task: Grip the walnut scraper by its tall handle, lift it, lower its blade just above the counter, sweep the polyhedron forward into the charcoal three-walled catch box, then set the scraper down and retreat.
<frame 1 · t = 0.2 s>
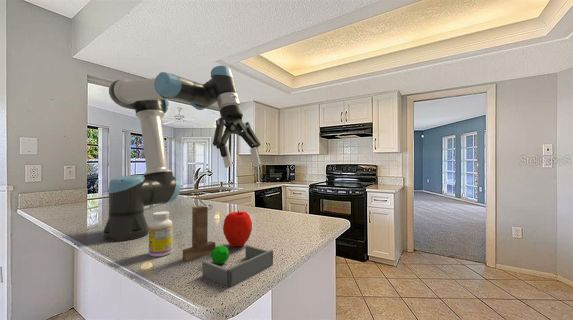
hand: (244, 166, 85), 28 cm above the table, tool tilted 20°, fingers open, 13 cm apart
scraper: (199, 255, 77), on the table
apple: (237, 246, 87), on the table
supplement bottle: (160, 254, 79), on the table
polyhedron: (220, 263, 72), on the table
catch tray: (239, 269, 67), on the table
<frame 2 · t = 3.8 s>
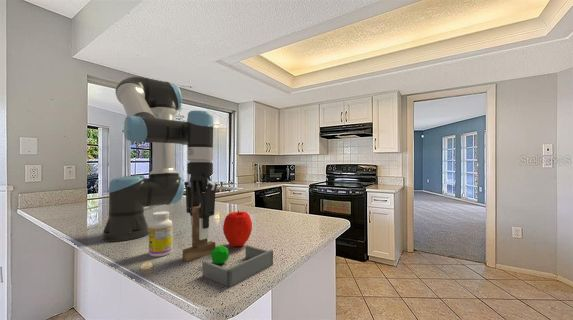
hand: (199, 237, 77), 6 cm above the table, tool pointing down, fingers closed on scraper, 3 cm apart
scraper: (199, 255, 77), on the table, touching gripper
everything else where it was.
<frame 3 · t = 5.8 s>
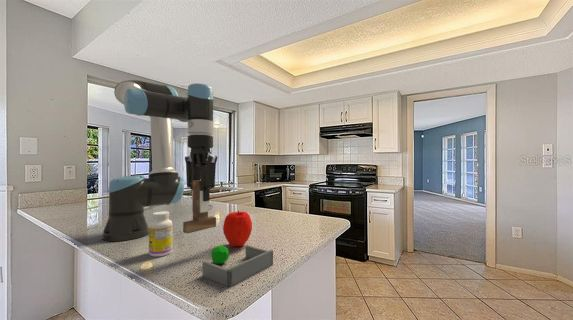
hand: (200, 211, 77), 14 cm above the table, tool pointing down, fingers closed on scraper, 3 cm apart
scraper: (200, 229, 77), point 8 cm above the table, touching gripper
everything else where it was.
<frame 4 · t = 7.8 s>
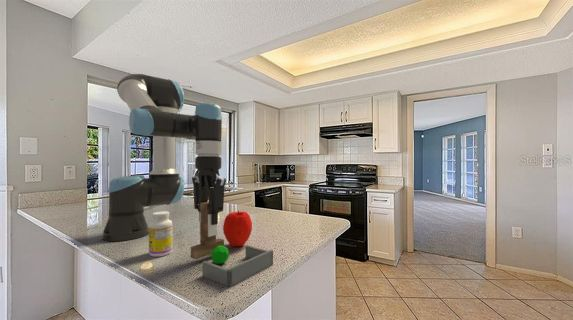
hand: (208, 234, 75), 7 cm above the table, tool pointing down, fingers closed on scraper, 3 cm apart
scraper: (208, 253, 75), point 2 cm above the table, touching gripper
everything else where it was.
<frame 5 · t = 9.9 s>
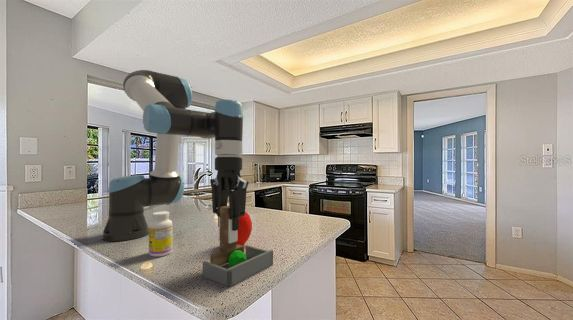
hand: (228, 240, 70), 7 cm above the table, tool pointing down, fingers closed on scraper, 3 cm apart
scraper: (227, 260, 70), point 1 cm above the table, touching gripper, polyhedron
polyhedron: (237, 269, 68), on the table, touching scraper
everything else where it was.
when the fingers open (6 cm above the table, at t = 11.8 s): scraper stays where it is, on the table.
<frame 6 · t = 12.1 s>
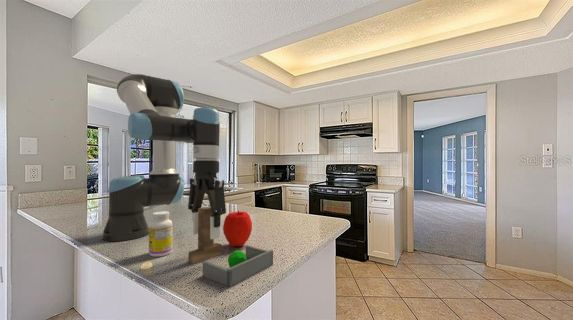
hand: (205, 235, 76), 7 cm above the table, tool pointing down, fingers open, 8 cm apart
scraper: (205, 257, 76), on the table
polyhedron: (237, 269, 68), on the table
everything else where it was.
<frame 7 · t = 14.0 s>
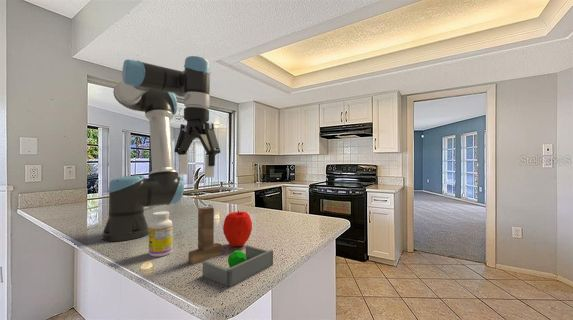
hand: (195, 175, 79), 24 cm above the table, tool pointing down, fingers open, 13 cm apart
nothing on the table moved.
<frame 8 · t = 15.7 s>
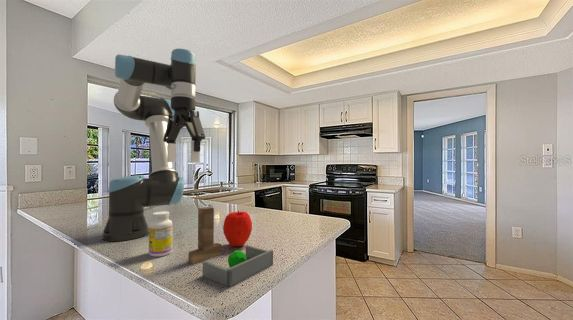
hand: (182, 162, 83), 29 cm above the table, tool pointing down, fingers open, 13 cm apart
nothing on the table moved.
at the end: polyhedron 0.9 cm from the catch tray (horizontally); polyhedron moved 7.0 cm from its start; the gripper is holding nothing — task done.
